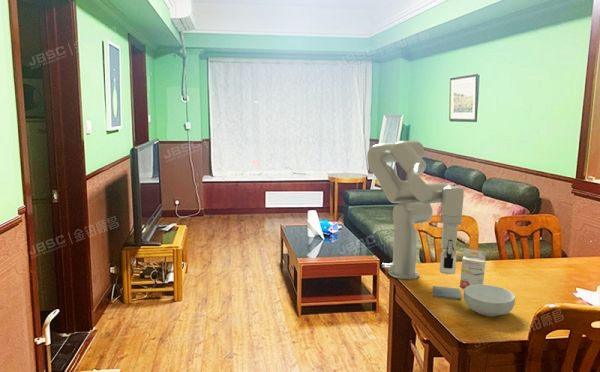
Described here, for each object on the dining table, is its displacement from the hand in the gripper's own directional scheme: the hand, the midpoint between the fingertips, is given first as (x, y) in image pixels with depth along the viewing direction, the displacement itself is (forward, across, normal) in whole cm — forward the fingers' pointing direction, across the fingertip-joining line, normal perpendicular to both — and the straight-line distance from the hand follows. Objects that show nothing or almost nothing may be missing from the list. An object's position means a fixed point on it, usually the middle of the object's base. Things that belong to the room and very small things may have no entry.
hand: (447, 265), depth 178 cm
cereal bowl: (+11, +13, +14) cm, 22 cm away
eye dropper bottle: (+3, 0, 0) cm, 3 cm away
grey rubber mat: (+11, 0, 0) cm, 11 cm away
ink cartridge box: (+11, -11, +10) cm, 19 cm away
